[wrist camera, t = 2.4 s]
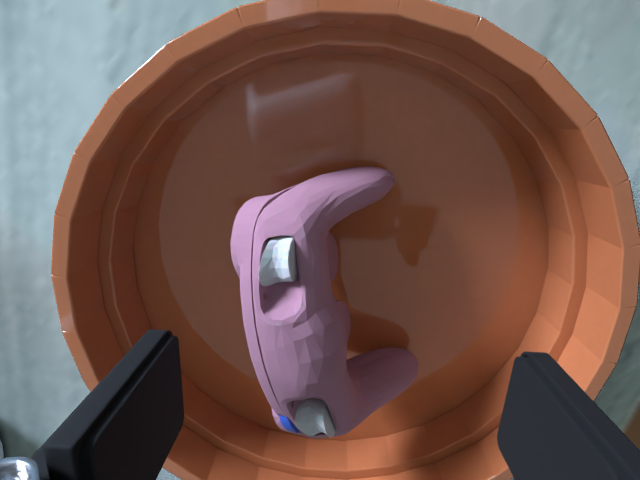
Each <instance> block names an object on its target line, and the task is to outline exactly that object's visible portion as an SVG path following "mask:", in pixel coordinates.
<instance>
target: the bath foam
mask: <svg viewBox="0 0 640 480" xmlns="http://www.w3.org/2000/svg"><path fill="white" fill-rule="evenodd" d="M3 457H4V453H3V446H2V442H1V439H0V459H3Z"/></svg>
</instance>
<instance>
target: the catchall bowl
mask: <svg viewBox="0 0 640 480" xmlns="http://www.w3.org/2000/svg"><path fill="white" fill-rule="evenodd" d="M362 166H372V167H380V168H383V169H386V170H389V171H390V172H391V173H392V174H393V175H394V178H395V183H394V185H393V187H392V188H391V190H390V191H389V192H388V193H387V194H386V195H385V196H384V197H383V198H381V199H380V200H378V201H376V202H374V203H372V204H370V205H368V206H366V207H364V208H362V209H360V210H357V211H355V212H353V213H351V214H350V215H348V216H347V217H345V218H344V219H342V220H341V221H339V222H338V223H336V224H335V225H334V226H333V227H332V228H331V229H330V230H329V232H330V233H331V234H332V235H333V236H334V238H335V240H336V243H337V247H338V269H337V273H336V276H335V278H334V280H333V281H332V282H331V288H332V293H333V296H334V298H335V300H339V301H343V302H344V303H345V304H346V305H347V307H348V309H349V313H350V318H351V329H350V335H349V339H348V342H347V360H348V359H350V358H352V357H354V356H357V355H360V354H363V353H365V352H369V351H372V350H376V349H381V348H388V347H393V348H403V349H405V350H407V351H409V352H411V353H413V354H414V355H415V356H416V358H417V360H418V365H419V368H418V373H417V376H416V378H415V379H414V381H413V382H412V384H411V385H410V386H409V387H408V388H407V389H406V390H404V391H403V392H402V393H401V394H399V395H398V396H397V397H395V398H394V399H392V400H391V401H389V402H388V403H386V404H385V405H383V406H382V407H380V408H379V409H377V410H376V411H374V412H373V413H372V414H371V415H370V416H368V417H367V418H366V419H365V420H364V421H362V422H361V423H360V424H359V425H358V426H357V427H355V428H354V429H353V430H351V431H350V432H349V433H347V434H345V435H342V436H335V437H332V438H329V437H328V438H309V437H306V436H303V435H299V434H294V433H290V432H286V431H284V430H282V429H280V428H279V427H278V425H277V424H276V422H275V420H274V417H273V413H272V407H271V406H270V404H269V402H268V400H267V398H266V396H265V394H264V392H263V390H262V387H261V385H260V383H259V380H258V377H257V375H256V372H255V369H254V366H253V363H252V360H251V356H250V352H249V347H248V343H247V339H246V333H245V328H244V322H243V315H242V305H241V295H240V278H239V276H238V274H237V272H236V270H235V268H234V265H233V262H232V257H231V244H230V242H231V236H232V230H233V224H234V221H235V218H236V215H237V213H238V211H239V209H240V208H241V207H242V206H243V204H244V203H245V202H247V201H248V200H250V199H252V198H254V197H258V196H266V195H273V194H275V193H278V192H280V191H282V190H285V189H287V188H290V187H292V186H295V185H297V184H299V183H302V182H304V181H306V180H309V179H311V178H314V177H316V176H319V175H322V174H327V173H331V172H335V171H339V170H342V169H346V168H353V167H362ZM628 178H629V177H628V175H627V173H626V171H625V169H624V167H623V165H622V163H621V161H620V159H619V157H618V155H617V153H616V151H615V148H614V146H613V144H612V142H611V140H610V138H609V136H608V134H607V132H606V130H605V128H604V126H603V124H602V122H601V120H600V118H599V117H598V116H597V113H596V112H595V111H594V110H593V109H592V108H591V107H590V106H589V104H588V103H587V102H586V101H585V100H584V99H583V98H582V97H581V96H580V94H579V93H578V92H577V91H576V90H575V89H574V88H573V87H572V86H571V84H570V83H569V82H568V81H567V80H566V79H565V78H564V77H563V75H562V74H561V73H560V72H559V71H558V70H557V69H556V68H555V67H554V65H553V64H552V63H551V62H550V61H548V60H547V58H546V57H544V56H543V55H541V54H539V53H538V52H536V51H535V50H533V49H532V48H530V47H528V46H527V45H525V44H524V43H522V42H521V41H519V40H518V39H516V38H514V37H513V36H511V35H510V34H508V33H507V32H505V31H503V30H502V29H500V28H499V27H497V26H496V25H494V24H492V23H491V22H489V21H488V20H486V19H485V18H483V17H479V16H478V15H475V14H472V13H468V12H465V11H462V10H459V9H456V8H452V7H449V6H446V5H443V4H440V3H436V2H433V1H430V0H263V1H259V2H254V3H250V4H245V5H241V6H239V7H238V8H233V9H231V10H229V11H227V12H225V13H223V14H221V15H220V16H218V17H216V18H214V19H212V20H210V21H208V22H206V23H204V24H202V25H200V26H198V27H196V28H194V29H192V30H191V31H189V32H187V33H185V34H183V35H181V36H179V37H177V38H175V39H173V40H171V41H169V42H168V44H165V45H164V46H163V47H162V48H161V49H160V50H158V51H157V52H156V53H155V54H154V55H153V56H152V57H151V58H150V59H149V60H147V61H146V62H145V63H144V64H143V65H142V66H141V67H140V68H139V69H138V70H136V71H135V72H134V73H133V74H132V75H131V76H130V77H129V78H128V79H127V80H126V81H124V82H123V83H122V84H121V85H120V86H119V87H118V88H117V89H116V90H115V91H113V94H111V95H110V96H109V98H108V100H107V101H106V103H105V104H104V106H103V107H102V109H101V111H100V112H99V114H98V115H97V117H96V118H95V120H94V122H93V123H92V125H91V126H90V128H89V129H88V131H87V132H86V134H85V136H84V137H83V139H82V140H81V142H80V143H79V145H78V147H77V148H76V150H75V153H74V154H73V156H72V159H71V163H70V166H69V169H68V172H67V175H66V178H65V181H64V185H63V188H62V191H61V194H60V197H59V200H58V204H57V207H56V210H55V215H54V227H53V246H52V265H51V274H52V282H53V288H54V293H55V298H56V303H57V308H58V314H59V319H60V324H61V329H62V331H63V332H62V334H63V336H64V338H65V340H66V343H67V345H68V347H69V349H70V352H71V354H72V356H73V358H74V361H75V363H76V365H77V367H78V370H79V372H80V374H81V377H82V379H83V381H84V382H85V384H86V386H87V387H88V389H89V390H90V391H92V390H93V389H94V388H95V387H96V386H97V385H98V384H99V383H100V382H101V381H102V380H103V379H104V378H105V377H106V376H107V374H108V373H109V372H110V371H111V370H112V369H113V368H114V367H115V366H116V365H117V363H118V362H119V361H120V360H121V359H122V358H123V357H124V356H125V355H126V354H127V352H128V351H129V350H130V349H131V348H132V347H133V346H134V345H135V344H136V343H137V341H138V340H139V339H140V338H141V337H142V336H143V335H144V334H145V333H146V332H147V331H148V330H150V329H154V330H170V331H171V332H172V334H173V336H177V337H178V340H179V351H180V364H181V377H182V390H183V403H184V422H183V426H182V428H181V431H180V433H179V435H178V437H177V439H176V441H175V443H174V445H173V447H172V448H171V450H170V452H169V454H168V456H167V458H166V460H165V462H164V464H163V466H162V468H164V469H166V470H167V471H169V472H170V473H172V474H174V475H175V476H177V477H178V478H180V479H181V480H510V479H512V478H513V475H512V473H511V471H510V469H509V467H508V465H507V463H506V462H505V460H504V458H503V456H502V454H501V452H500V450H499V447H498V443H497V433H498V428H499V424H500V420H501V415H502V411H503V407H504V402H505V398H506V394H507V389H508V385H509V381H510V376H511V372H512V368H513V363H514V360H515V358H516V357H518V356H521V354H522V353H523V352H525V351H527V352H544V353H548V354H549V355H550V356H551V357H552V358H553V359H554V360H555V361H556V362H557V363H558V364H559V365H560V366H561V367H562V368H563V369H564V370H565V372H566V373H567V374H568V375H569V376H570V377H571V378H572V379H573V380H574V381H575V382H576V383H577V384H578V385H579V386H580V388H581V389H582V390H583V391H584V392H585V393H586V394H587V395H588V396H589V397H590V398H591V399H592V400H593V401H594V400H595V399H596V397H597V395H598V394H599V392H600V391H601V389H602V387H603V386H604V384H605V383H606V381H607V379H608V378H609V376H610V375H611V373H612V371H613V370H614V368H615V366H616V363H617V362H618V360H619V357H620V354H621V351H622V348H623V345H624V342H625V339H626V336H627V333H628V331H629V328H630V325H631V322H632V319H633V316H634V313H635V310H636V306H637V298H638V285H639V273H640V233H639V227H638V222H637V216H636V211H635V206H634V200H633V195H632V189H631V184H630V180H629V179H628Z"/></svg>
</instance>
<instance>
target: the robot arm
mask: <svg viewBox="0 0 640 480" xmlns="http://www.w3.org/2000/svg"><path fill="white" fill-rule="evenodd" d="M183 422H184V403H183V390H182V377H181V364H180V351H179V340H178V337H177V336H173V334H172V332H171V331H170V330H154V329H150V330H148V331H147V332H146V333H145V334H144V335H143V336H142V337H141V338H140V339H139V340H138V341H137V343H136V344H135V345H134V346H133V347H132V348H131V349H130V350H129V351H128V352H127V354H126V355H125V356H124V357H123V358H122V359H121V360H120V361H119V362H118V363H117V365H116V366H115V367H114V368H113V369H112V370H111V371H110V372H109V373H108V374H107V376H106V377H105V378H104V379H103V380H102V381H101V382H100V383H99V384H98V385H97V386H96V387H95V388H94V389H93V390H92V391H91V392H90V394H89V395H88V396H87V397H86V398H85V399H84V400H83V401H82V402H81V403H80V405H79V406H78V407H77V408H76V409H75V410H74V411H73V412H72V413H71V414H70V415H69V417H68V418H67V419H66V420H65V421H64V422H63V423H62V424H61V425H60V426H59V428H58V429H57V430H56V431H55V432H54V433H53V434H52V435H51V436H50V437H49V439H48V440H47V441H46V442H45V443H44V444H43V445H42V446H41V447H40V448H39V449H38V451H37V452H36V453H35V454H34V455H33V456H32V457H31V458H28V457H21V456H16V457H7V458H3V459H0V480H156V478H157V476H158V474H159V472H160V470H161V468H162V466H163V464H164V462H165V460H166V458H167V456H168V454H169V452H170V450H171V448H172V447H173V445H174V443H175V441H176V439H177V437H178V435H179V433H180V431H181V428H182V426H183ZM497 443H498V447H499V450H500V452H501V454H502V456H503V458H504V460H505V462H506V463H507V465H508V467H509V469H510V471H511V473H512V475H513V477H514V479H515V480H640V450H639V449H638V448H637V447H636V446H635V445H634V444H633V443H632V442H631V441H630V440H629V439H628V438H627V436H626V435H625V434H624V433H623V432H622V431H621V430H620V429H619V428H618V427H617V426H616V425H615V424H614V423H613V422H612V420H611V419H610V418H609V417H608V416H607V415H606V414H605V413H604V412H603V411H602V410H601V409H600V408H599V407H598V406H597V405H596V403H595V402H594V401H593V400H592V399H591V398H590V397H589V396H588V395H587V394H586V393H585V392H584V391H583V390H582V389H581V388H580V386H579V385H578V384H577V383H576V382H575V381H574V380H573V379H572V378H571V377H570V376H569V375H568V374H567V373H566V372H565V370H564V369H563V368H562V367H561V366H560V365H559V364H558V363H557V362H556V361H555V360H554V359H553V358H552V357H551V356H550V355H549V354H548V353H544V352H527V351H525V352H523V353H522V354H521V356H518V357H516V358H515V360H514V363H513V368H512V372H511V376H510V381H509V385H508V389H507V394H506V398H505V402H504V407H503V411H502V415H501V420H500V424H499V428H498V433H497Z"/></svg>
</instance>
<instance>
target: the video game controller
mask: <svg viewBox="0 0 640 480" xmlns="http://www.w3.org/2000/svg"><path fill="white" fill-rule="evenodd" d="M394 183H395V178H394V175H393V174H392V173H391V172H390V171H389V170H386V169H383V168H380V167H372V166H362V167H353V168H346V169H342V170H339V171H335V172H331V173H327V174H322V175H319V176H316V177H314V178H311V179H309V180H306V181H304V182H302V183H299V184H297V185H295V186H292V187H290V188H287V189H285V190H282V191H280V192H278V193H275V194H273V195H266V196H258V197H254V198H252V199H250V200H248V201H247V202H245V203H244V204H243V206H242V207H241V208H240V209H239V211H238V213H237V215H236V218H235V221H234V224H233V230H232V236H231V242H230V244H231V257H232V262H233V265H234V268H235V270H236V272H237V274H238V276H239V278H240V295H241V305H242V315H243V322H244V328H245V333H246V339H247V343H248V347H249V352H250V356H251V360H252V363H253V366H254V369H255V372H256V375H257V377H258V380H259V383H260V385H261V387H262V390H263V392H264V394H265V396H266V398H267V400H268V402H269V404H270V406H271V407H272V413H273V417H274V420H275V422H276V424H277V425H278V427H279V428H280V429H282V430H284V431H286V432H290V433H294V434H299V435H303V436H306V437H309V438H328V437H329V438H332V437H335V436H342V435H345V434H347V433H349V432H350V431H351V430H353V429H354V428H355V427H357V426H358V425H359V424H360V423H361V422H362V421H364V420H365V419H366V418H367V417H368V416H370V415H371V414H372V413H373V412H374V411H376V410H377V409H379V408H380V407H382V406H383V405H385V404H386V403H388V402H389V401H391V400H392V399H394V398H395V397H397V396H398V395H399V394H401V393H402V392H403V391H404V390H406V389H407V388H408V387H409V386H410V385H411V384H412V382H413V381H414V379H415V378H416V376H417V373H418V368H419V365H418V360H417V358H416V356H415V355H414V354H413V353H411V352H409V351H407V350H405V349H403V348H393V347H388V348H381V349H376V350H372V351H369V352H365V353H363V354H360V355H357V356H354V357H352V358H350V359H348V360H347V342H348V339H349V335H350V329H351V318H350V313H349V309H348V307H347V305H346V304H345V303H344V302H343V301H339V300H335V298H334V296H333V293H332V288H331V282H332V281H333V280H334V278H335V276H336V273H337V269H338V247H337V243H336V240H335V238H334V236H333V235H332V234H331V233H330V232H329V230H330V229H331V228H332V227H333V226H334V225H335V224H336V223H338V222H339V221H341V220H342V219H344V218H345V217H347V216H348V215H350V214H351V213H353V212H355V211H357V210H360V209H362V208H364V207H366V206H368V205H370V204H372V203H374V202H376V201H378V200H380V199H381V198H383V197H384V196H385V195H386V194H387V193H388V192H389V191H390V190H391V188H392V187H393V185H394Z"/></svg>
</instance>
